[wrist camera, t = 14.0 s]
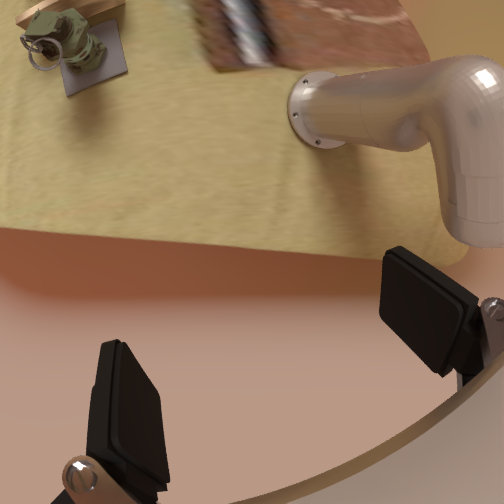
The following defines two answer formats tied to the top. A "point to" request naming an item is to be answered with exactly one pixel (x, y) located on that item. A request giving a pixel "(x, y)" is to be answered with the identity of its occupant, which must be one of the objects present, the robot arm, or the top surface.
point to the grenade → (64, 40)
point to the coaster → (109, 66)
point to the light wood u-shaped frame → (85, 3)
